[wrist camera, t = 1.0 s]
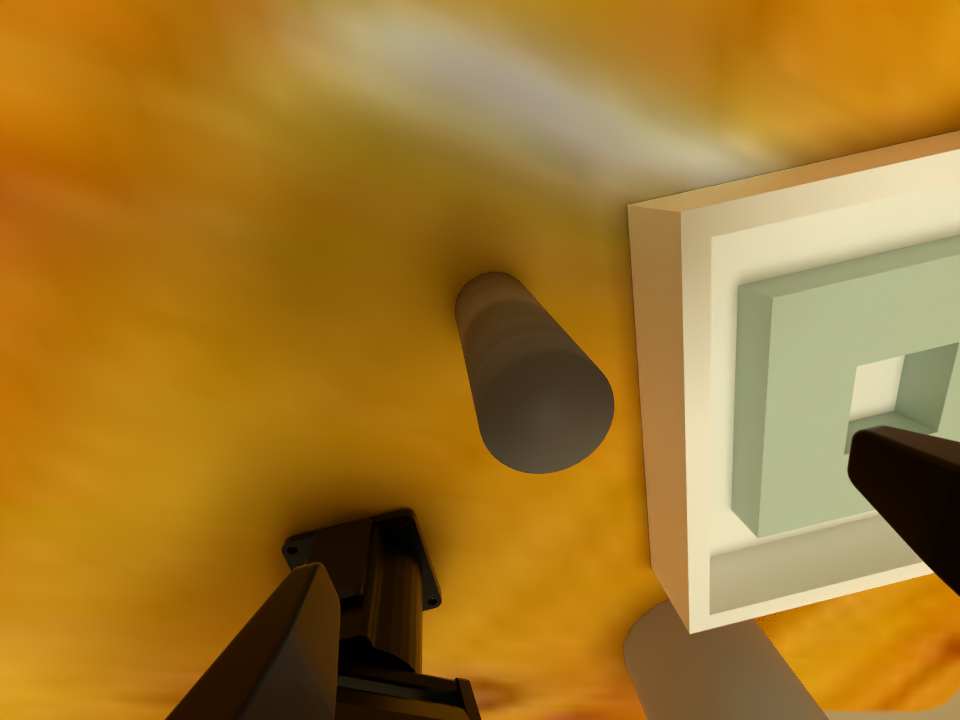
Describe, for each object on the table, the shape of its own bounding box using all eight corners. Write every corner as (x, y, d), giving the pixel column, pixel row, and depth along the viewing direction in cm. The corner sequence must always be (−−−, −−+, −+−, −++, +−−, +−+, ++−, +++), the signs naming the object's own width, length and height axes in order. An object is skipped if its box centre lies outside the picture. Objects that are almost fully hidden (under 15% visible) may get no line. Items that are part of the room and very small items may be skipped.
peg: (536, 337, 19) (619, 456, 11) (464, 353, 19) (493, 486, 11) (524, 264, 18) (608, 337, 10) (447, 281, 18) (465, 370, 10)
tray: (982, 486, 26) (1074, 537, 22) (651, 568, 25) (689, 634, 22) (1102, 98, 18) (1275, 77, 14) (627, 204, 18) (680, 212, 14)
